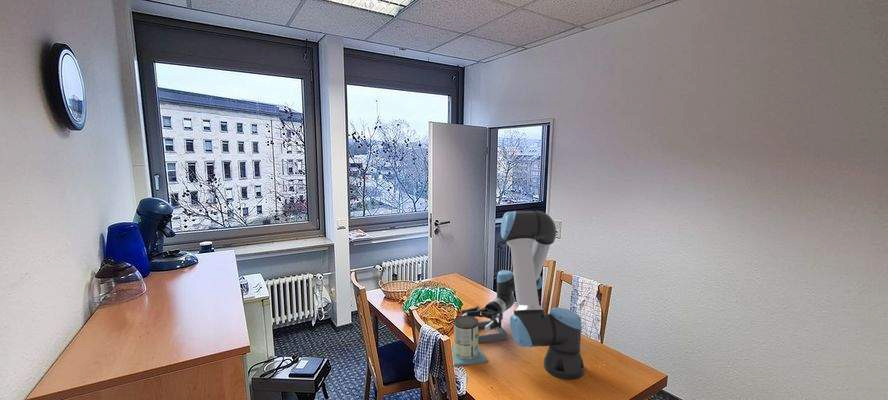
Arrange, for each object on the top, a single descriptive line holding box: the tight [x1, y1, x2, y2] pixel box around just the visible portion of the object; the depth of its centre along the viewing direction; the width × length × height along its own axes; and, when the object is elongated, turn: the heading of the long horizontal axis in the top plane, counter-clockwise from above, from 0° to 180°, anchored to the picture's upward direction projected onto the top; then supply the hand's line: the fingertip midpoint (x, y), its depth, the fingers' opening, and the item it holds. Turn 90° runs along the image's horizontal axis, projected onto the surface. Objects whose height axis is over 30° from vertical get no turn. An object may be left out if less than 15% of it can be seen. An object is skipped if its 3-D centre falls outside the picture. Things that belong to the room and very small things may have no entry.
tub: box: [478, 320, 508, 344], centre depth 168 cm, size 14×14×3 cm
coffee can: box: [453, 315, 480, 359], centre depth 149 cm, size 10×10×14 cm
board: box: [452, 344, 488, 367], centre depth 150 cm, size 14×14×1 cm
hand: (471, 325), depth 153 cm, fingers open, 13 cm apart
